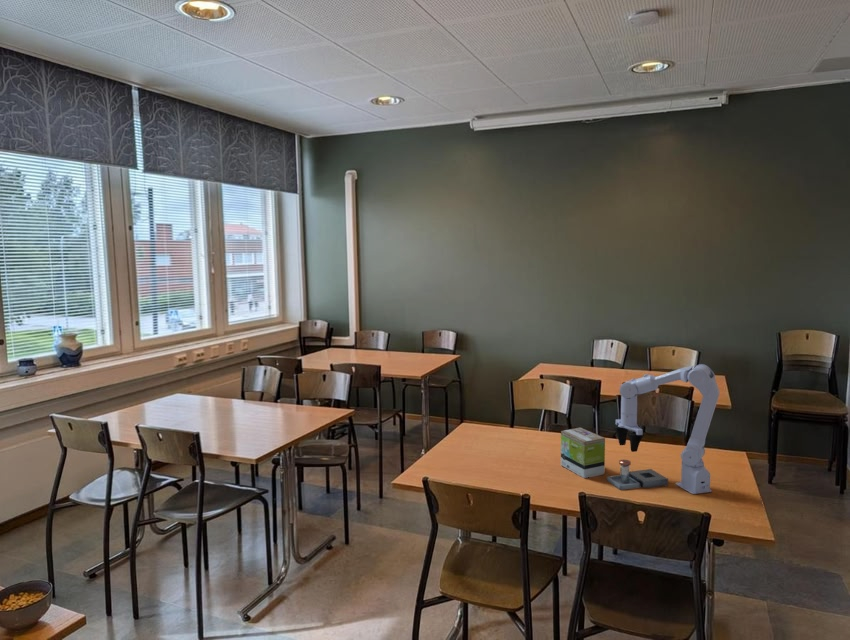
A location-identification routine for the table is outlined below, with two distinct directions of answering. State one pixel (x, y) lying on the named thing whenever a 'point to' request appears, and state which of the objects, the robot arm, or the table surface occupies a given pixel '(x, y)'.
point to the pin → (625, 471)
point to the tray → (617, 483)
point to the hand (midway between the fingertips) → (628, 448)
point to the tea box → (583, 452)
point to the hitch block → (648, 478)
